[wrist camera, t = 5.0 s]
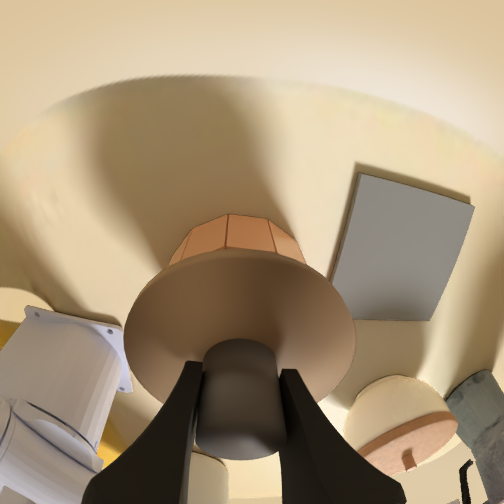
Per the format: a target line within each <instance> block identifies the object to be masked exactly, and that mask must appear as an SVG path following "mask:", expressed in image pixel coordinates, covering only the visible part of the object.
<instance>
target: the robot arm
mask: <svg viewBox="0 0 504 504" xmlns="http://www.w3.org/2000/svg"><path fill="white" fill-rule="evenodd" d="M25 313H26V318H25V319H24V321H23V322H22V323H21V324H20V326H19V327H18V328H17V329H16V331H15V332H14V333H13V335H12V336H11V337H10V339H9V340H8V341H7V343H6V344H5V346H4V347H3V348H2V350H1V351H0V504H187V501H188V484H189V470H190V461H191V454H192V449H193V443H194V438H195V433H196V425H197V414H198V404H199V397H200V390H201V381H202V370H203V362H198V361H190V360H188V361H186V362H185V364H184V367H183V370H182V372H181V374H180V377H179V379H178V381H177V383H176V385H175V386H174V388H173V390H172V392H171V393H170V395H169V397H168V399H167V400H166V402H165V403H164V405H163V406H162V408H161V409H160V411H159V412H158V414H157V415H156V416H155V418H154V419H153V420H152V422H151V423H150V424H149V426H148V427H147V428H146V429H145V430H144V432H143V433H142V434H141V435H140V436H139V437H138V438H137V439H136V440H135V442H134V443H133V444H132V445H131V446H130V447H129V448H128V449H127V450H126V451H125V452H123V453H122V454H121V455H120V456H119V457H118V458H117V459H116V460H115V461H113V462H112V463H111V464H110V465H109V466H107V467H106V468H105V469H103V470H102V467H103V463H104V461H103V460H102V459H101V458H99V457H98V456H97V455H96V454H97V450H98V447H99V444H100V440H101V437H102V434H103V430H104V427H105V424H106V421H107V417H108V414H109V411H110V408H111V405H112V402H113V399H114V396H115V393H116V391H121V392H125V393H132V391H133V385H132V380H131V375H130V370H129V364H128V362H127V359H126V355H125V351H124V343H123V335H124V332H123V329H122V328H121V327H120V326H118V325H114V324H108V323H103V322H98V321H93V320H89V319H84V318H79V317H75V316H70V315H66V314H62V313H57V312H53V311H49V310H45V309H41V308H37V307H34V306H30V305H27V306H26V307H25ZM109 329H110V330H112V331H110V330H109ZM279 383H280V390H281V397H282V404H283V412H284V419H285V426H286V433H287V442H286V444H285V446H284V447H283V448H282V449H281V450H279V457H280V464H281V477H282V504H405V503H406V502H407V500H406V497H405V494H404V490H403V488H402V486H401V484H400V483H399V482H397V481H396V480H394V479H392V478H391V477H389V476H387V475H386V474H384V473H383V472H381V471H380V470H378V469H377V468H376V467H374V466H373V465H372V464H371V463H369V462H368V461H367V460H366V459H365V458H364V457H362V456H361V455H360V454H359V453H358V452H357V451H356V450H354V449H353V448H352V447H351V446H350V445H349V443H348V442H347V441H346V440H345V439H344V438H343V437H342V436H341V435H340V434H339V433H338V431H337V430H336V429H335V428H334V426H333V425H332V424H331V423H330V421H329V420H328V419H327V417H326V416H325V414H324V413H323V412H322V410H321V409H320V407H319V406H318V404H317V403H316V401H315V400H314V398H313V396H312V395H311V393H310V391H309V390H308V388H307V386H306V385H305V383H304V381H303V379H302V377H301V375H300V374H299V372H298V370H297V369H284V368H282V370H281V373H280V376H279ZM448 504H460V502H459V499H457V500H454V501H452V502H450V503H448Z"/></svg>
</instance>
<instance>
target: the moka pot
mask: <svg viewBox="0 0 504 504" xmlns="http://www.w3.org/2000/svg"><path fill="white" fill-rule="evenodd" d="M445 403H446V404H447V406H448V408H449V409H450V411H451V413H453V414H454V416H455V418H456V419H457V421H458V427H457V430H456V434H457V435H458V436H459V437H460V439H461V440H462V441H463V442H464V443H465V444H466V445H467V446H468V447H469V448H470V449H471V451H472V453H473V456H474V458H475V459H476V465H477V468H478V471H479V473H480V476H481V479H482V482H483V485H484V488H485V491H486V494H487V497H488V500H487V501H486V502H485V503H483V504H502V503H504V394H503V392H502V390H501V388H500V387H499V385H498V383H497V381H496V380H495V378H494V376H493V375H492V373H491V372H490V371H489V370H483V371H480V372H478V373H476V374H474V375H472V376H471V377H470V378H468V379H467V380H466V381H464V382H463V383H462V384H461V385H460V386H459V387H458V388H457V389H456V390H454V392H453V393H452V394H451V396H450V397H449V398H448V399H447V400H446V402H445ZM472 464H473V461H471V460H470V459H469V460H468V461H467V462H466V463H465V464H464V465H463V466H462V467H461V468H460V470H459V474H460V483H461V492H462V503H463V504H471V501H470V500H471V499H470V497H469V496H470V494H469V488H468V483H467V469H468V467H469V466H471V465H472Z"/></svg>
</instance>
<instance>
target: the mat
mask: <svg viewBox="0 0 504 504" xmlns="http://www.w3.org/2000/svg"><path fill="white" fill-rule="evenodd" d="M474 208H475V207H474V206H473V205H470V204H468V203H465V202H462V201H459V200H456V199H453V198H450V197H446V196H443V195H440V194H437V193H434V192H430V191H427V190H424V189H420V188H417V187H413V186H410V185H406V184H402V183H399V182H395V181H391V180H387V179H383V178H379V177H375V176H371V175H367V174H363V173H358V177H357V182H356V186H355V190H354V194H353V199H352V203H351V207H350V211H349V214H348V218H347V222H346V226H345V230H344V233H343V237H342V241H341V244H340V248H339V251H338V255H337V258H336V262H335V265H334V269H333V272H332V275H331V279H330V283H331V284H332V285H333V286H334V287H335V288H336V290H337V291H338V292H339V294H340V295H341V297H342V299H343V301H344V302H345V304H346V306H347V308H348V310H349V312H350V314H351V316H352V319H363V320H395V321H430V319H431V317H432V315H433V313H434V311H435V309H436V307H437V305H438V302H439V300H440V298H441V296H442V294H443V292H444V289H445V287H446V285H447V282H448V280H449V278H450V275H451V273H452V271H453V268H454V266H455V263H456V261H457V258H458V255H459V253H460V250H461V247H462V245H463V242H464V239H465V236H466V233H467V230H468V227H469V224H470V221H471V218H472V215H473V212H474Z"/></svg>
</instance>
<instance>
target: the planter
mask: <svg viewBox="0 0 504 504" xmlns="http://www.w3.org/2000/svg"><path fill="white" fill-rule="evenodd" d="M222 249H255V250H263V251H268V252H273V253H278V254H281V255H284V256H287V257H290V258H293V259H295V260H298V261H300V262H302V263H304V264H306V261H305V259H304V257H303V255H302V252H301V250H300V248H299V245H298V243H297V242H296V240H294V239H293V238H292V237H291V236H289V235H288V234H287V233H285V232H284V231H283V230H281V229H280V228H279V227H277V226H276V225H275V224H274V223H272V222H271V221H270V220H268V221H267V219H264V218H256V217H248V216H240V215H232V214H229V217H228V215H224V216H222V217H219V218H217V219H214V220H212V221H209V222H207V223H205V224H202V225H200V226H197V227H195V228H193V229H192V230H191V231H190V232H189V234H188V235H187V237H186V238H185V239H184V241H183V242H182V243H181V245H180V246H179V247H178V249H177V250H176V252H175V253H174V254H173V256H172V258H171V260H170V263H169V265H168V267H169V266H171V265H172V264H175V263H177V262H179V261H181V260H183V259H185V258H188V257H191V256H194V255H198V254H201V253H204V252H210V251H216V250H222ZM306 265H307V264H306ZM168 267H167V268H168Z"/></svg>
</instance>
